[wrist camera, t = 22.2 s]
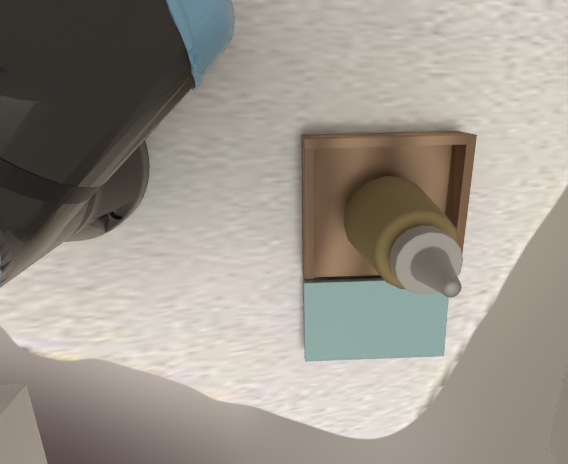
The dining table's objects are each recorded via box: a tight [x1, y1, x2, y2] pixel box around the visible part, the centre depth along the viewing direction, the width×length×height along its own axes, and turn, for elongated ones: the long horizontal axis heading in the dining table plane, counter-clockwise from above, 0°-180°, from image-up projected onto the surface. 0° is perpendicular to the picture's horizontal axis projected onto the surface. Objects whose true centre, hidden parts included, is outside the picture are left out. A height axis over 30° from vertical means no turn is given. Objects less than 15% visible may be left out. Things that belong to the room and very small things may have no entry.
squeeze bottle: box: [344, 176, 463, 297], centre depth 33 cm, size 8×8×18 cm
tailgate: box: [304, 278, 448, 361], centre depth 45 cm, size 15×1×9 cm
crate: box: [302, 131, 477, 279], centre depth 41 cm, size 15×15×4 cm
